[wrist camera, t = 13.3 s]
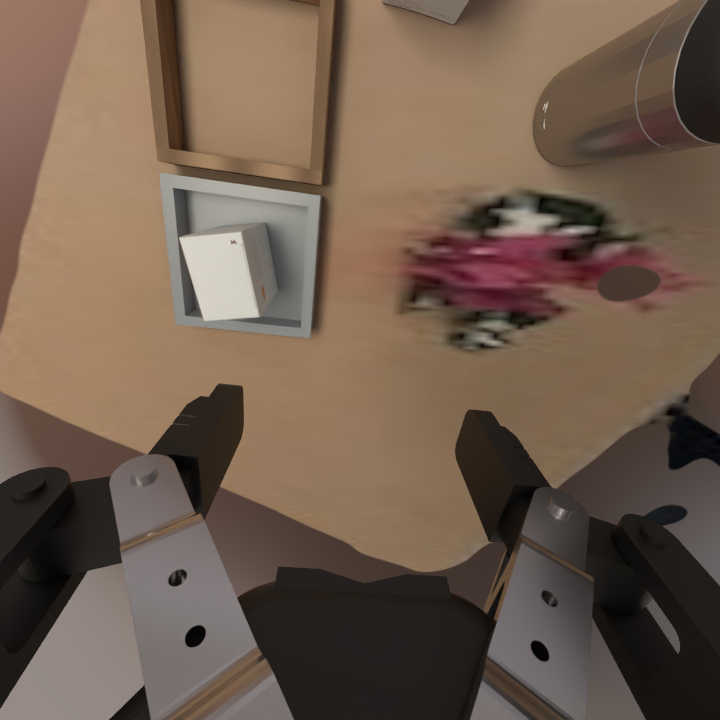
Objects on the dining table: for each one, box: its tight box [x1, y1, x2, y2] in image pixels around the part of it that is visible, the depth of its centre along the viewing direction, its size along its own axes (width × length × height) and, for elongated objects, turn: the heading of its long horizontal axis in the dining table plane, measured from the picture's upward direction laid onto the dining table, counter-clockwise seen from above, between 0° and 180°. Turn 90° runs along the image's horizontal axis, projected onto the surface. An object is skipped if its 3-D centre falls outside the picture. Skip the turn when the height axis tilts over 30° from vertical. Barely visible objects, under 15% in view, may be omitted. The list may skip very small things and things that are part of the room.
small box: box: [179, 222, 278, 321], centre depth 35 cm, size 8×6×10 cm
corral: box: [140, 0, 337, 186], centre depth 32 cm, size 16×16×4 cm
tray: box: [159, 173, 322, 338], centre depth 39 cm, size 16×16×4 cm
